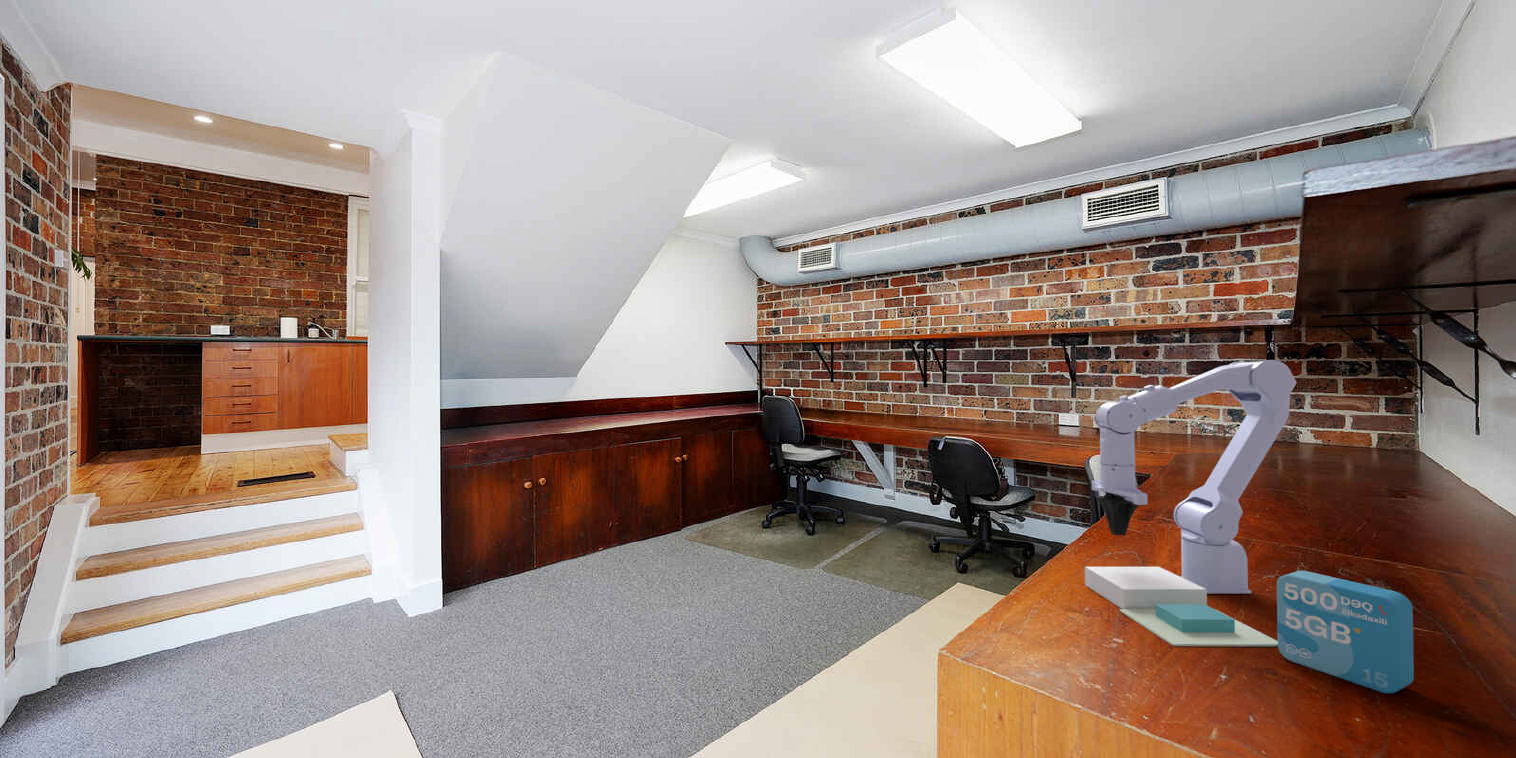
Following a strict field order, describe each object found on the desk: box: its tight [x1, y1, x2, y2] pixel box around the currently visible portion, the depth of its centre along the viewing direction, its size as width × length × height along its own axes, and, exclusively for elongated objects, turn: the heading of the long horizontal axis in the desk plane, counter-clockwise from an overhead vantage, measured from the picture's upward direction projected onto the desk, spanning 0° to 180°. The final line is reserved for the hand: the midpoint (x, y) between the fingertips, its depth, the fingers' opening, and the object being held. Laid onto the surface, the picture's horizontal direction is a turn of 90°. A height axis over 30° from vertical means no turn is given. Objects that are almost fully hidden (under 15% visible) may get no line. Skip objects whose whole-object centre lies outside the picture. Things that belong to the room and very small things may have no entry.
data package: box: [1276, 570, 1415, 694], centre depth 76 cm, size 12×4×12 cm, turn 26°
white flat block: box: [1084, 566, 1208, 609], centre depth 104 cm, size 14×12×4 cm
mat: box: [1119, 608, 1278, 647], centre depth 90 cm, size 16×13×1 cm
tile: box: [1156, 604, 1236, 633], centre depth 91 cm, size 8×6×2 cm
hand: (1118, 534), depth 111 cm, fingers closed
